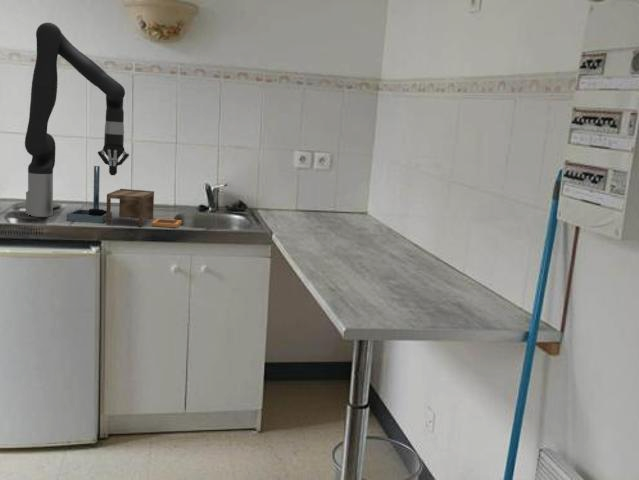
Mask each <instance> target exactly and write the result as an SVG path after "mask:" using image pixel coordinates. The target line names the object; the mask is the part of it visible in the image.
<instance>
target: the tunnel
mask: <svg viewBox="0 0 639 480" xmlns="http://www.w3.org/2000/svg"><path fill="white" fill-rule="evenodd" d="M111 199H113V200H119V204H118V205H119V207H118V209H119V215H118V217H119V218H126V217H130V218H131V219H138V227H139V226H140V228H143V227H142V226H144V225H143V223H144V220H153V221H154V211H155V210H154V209H155V208H154V207H155V206H154V205H155V204H154V203H155V191H154V190H142V189H130V188H129V189H127V188H119V189H117V190H114V191H111V192H109V193H107V194H106V210H105V211H106V221H105V224H106V225H109V226H110V225H111V218H110V212H111V209H112V207H111V205H112V203H111V201H112V200H111ZM130 218H129V219H130Z"/></svg>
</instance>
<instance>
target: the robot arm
mask: <svg viewBox="0 0 639 480" xmlns="http://www.w3.org/2000/svg"><path fill="white" fill-rule="evenodd" d="M35 36H36V59H35V65H34V70H33V75H32V80H31V89H30V106H29V115H28V124H27V129H26V133H25V137H24V148H25V150H26V152H27V153H28V154H29V155H30V156H32V157H31V161H30V163H29V165H28V166H27V191H26V192H25V215H26V214H28V215H27V216H29V215H31V216H30V217H37V218H38V217H39V218H45V217H46V218H48V217H52V216H53V212H54V210H53V209H54V205H53V203H54V201H53V199H54V168H55V166H56V165H55V164H56V142H55V139H54V137H53V136H52V134H50V133H48V123H49V120H50V117H51V114H52V112H53V110H54V108H55V105H56V103H57V102H56V101H57V93H58V56H60V57H62V58H63V59H64V60H65V61H67V63H69V65H71V66H72V67H73V68H74V69H75V70H76V71H77V72H78V73H79V74H80V75H81V76H83V77H84V78H85V79H86V80H87V81H89V83H91V84H92V85H94V86H95V87H97V88H98V89H99V90H100V91H102V93H103V94H104V95H105V102H106V103H105V105H106V109H105V123H104V138H103V139H104V141H103V147H102V149H101V150H100V151H97V154H98V156H99V158H100V159H101V160H102V161H103V163H104V164H105V165H108V173H109V174H110V176H116V174H117V173H118V166H122V164H124V163H125V161H126V160H127V159H128V158H129V156H130V154H129V153H127V151H125V147H124V141H125V140H124V138H125V137H124V135H125V125H124V119H125V118H124V117H125V116H124V114H125V113H124V97H125V95H126V90H125V87H124V86H123V85H122V84H120V82H118V81H117V80H116V79H114V78H113V77H112V76H110V75H109V74H107V72H106V71H104V69H103V68H101V67H100V66H99V65H98V64H97V63H96V62H94V61H93V60H92V59H91V58H89V57H88V56H87V55H86V54H84V53H83V52H81V50H79V49H78V48H76V47H75V46H74V45H73V44H72V43H71V42H70V41H69V40H68V39H67V37H66V36H65V35H64V34H63V33H62V31H61V29H60V28H59V27H58V26H57V25H56V24H54V23H52V22H44V23H41V24H40V25H39V26H38V27H37V29H36V32H35ZM106 156H107V157H106ZM121 156H122V157H121ZM120 157H121V159H120ZM119 159H120V160H119Z"/></svg>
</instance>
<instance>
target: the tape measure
mask: <svg viewBox="0 0 639 480" xmlns="http://www.w3.org/2000/svg"><path fill="white" fill-rule="evenodd" d="M88 210H89V211H88V215H93V216H102V215H104V214H106V211H107V210H104V209H100V208H99V209H93V208H89V209H88Z"/></svg>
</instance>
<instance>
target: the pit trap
mask: <svg viewBox="0 0 639 480" xmlns="http://www.w3.org/2000/svg"><path fill="white" fill-rule="evenodd" d="M182 223H183V221H182V220H181V219H171V218H156V219H155V220H153V221H152V222H151V227H155V228H157V227H158V228H167V229H177V228H178V227H180V225H182Z"/></svg>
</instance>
